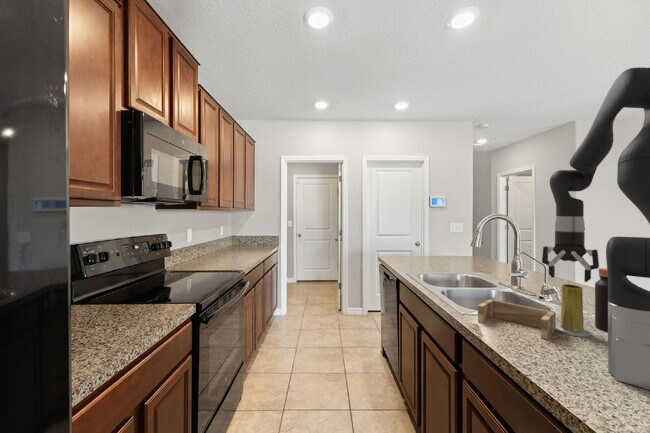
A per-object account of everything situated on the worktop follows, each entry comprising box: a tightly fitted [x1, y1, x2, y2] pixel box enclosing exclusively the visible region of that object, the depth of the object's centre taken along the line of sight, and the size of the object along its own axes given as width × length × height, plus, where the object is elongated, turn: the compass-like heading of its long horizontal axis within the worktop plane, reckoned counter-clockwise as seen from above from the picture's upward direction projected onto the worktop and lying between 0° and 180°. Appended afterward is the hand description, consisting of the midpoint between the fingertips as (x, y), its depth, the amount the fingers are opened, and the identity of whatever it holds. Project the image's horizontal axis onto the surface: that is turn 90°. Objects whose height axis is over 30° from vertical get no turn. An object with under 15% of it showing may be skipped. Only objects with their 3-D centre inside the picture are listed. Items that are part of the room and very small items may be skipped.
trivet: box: [555, 323, 591, 338], centre depth 96 cm, size 9×9×1 cm
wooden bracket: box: [477, 298, 556, 340], centre depth 101 cm, size 12×20×6 cm, turn 42°
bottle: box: [594, 267, 608, 333], centre depth 97 cm, size 7×7×20 cm
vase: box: [559, 283, 585, 333], centre depth 96 cm, size 6×6×14 cm
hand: (569, 279), depth 96 cm, fingers open, 8 cm apart
